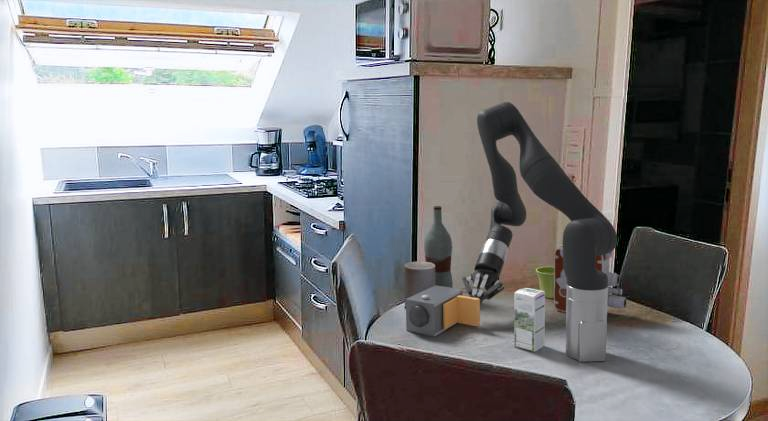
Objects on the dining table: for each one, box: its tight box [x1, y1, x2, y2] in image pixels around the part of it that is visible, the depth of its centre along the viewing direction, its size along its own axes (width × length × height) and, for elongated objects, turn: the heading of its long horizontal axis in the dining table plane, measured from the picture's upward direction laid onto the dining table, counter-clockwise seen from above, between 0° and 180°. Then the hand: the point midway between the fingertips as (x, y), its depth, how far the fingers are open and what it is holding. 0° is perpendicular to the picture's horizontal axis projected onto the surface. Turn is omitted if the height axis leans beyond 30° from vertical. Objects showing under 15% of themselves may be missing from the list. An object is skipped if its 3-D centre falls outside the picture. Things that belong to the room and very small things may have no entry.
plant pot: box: [535, 266, 554, 299], centre depth 184 cm, size 9×9×9 cm
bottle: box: [423, 205, 454, 288], centre depth 186 cm, size 9×9×30 cm
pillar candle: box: [403, 260, 435, 310], centre depth 175 cm, size 10×10×15 cm
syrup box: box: [513, 287, 546, 353], centre depth 142 cm, size 6×6×14 cm
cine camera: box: [553, 244, 628, 313], centre depth 165 cm, size 9×19×20 cm, turn 53°
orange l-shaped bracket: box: [443, 295, 481, 330], centre depth 155 cm, size 8×7×8 cm
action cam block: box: [405, 285, 464, 338], centre depth 159 cm, size 17×9×10 cm, turn 145°
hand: (472, 309), depth 158 cm, fingers closed
